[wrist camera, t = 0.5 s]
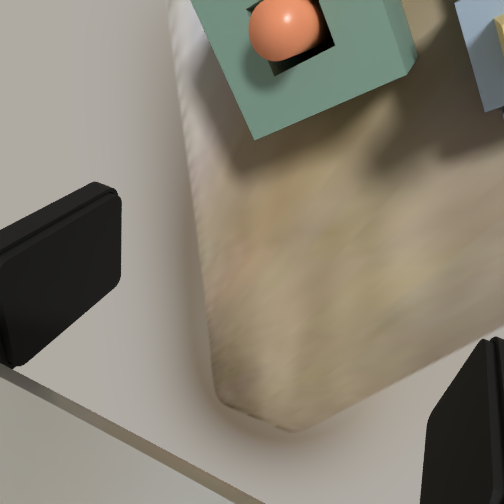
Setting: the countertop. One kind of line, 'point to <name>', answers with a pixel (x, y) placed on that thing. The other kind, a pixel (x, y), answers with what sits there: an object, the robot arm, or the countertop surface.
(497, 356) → the robot arm
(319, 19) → the orange peg
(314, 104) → the green box
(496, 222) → the countertop surface
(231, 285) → the countertop surface
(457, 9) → the carriage
